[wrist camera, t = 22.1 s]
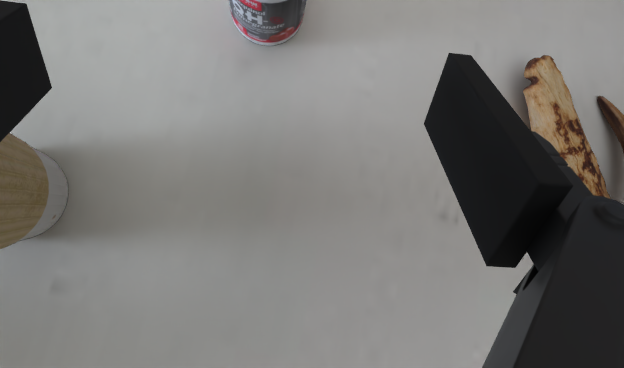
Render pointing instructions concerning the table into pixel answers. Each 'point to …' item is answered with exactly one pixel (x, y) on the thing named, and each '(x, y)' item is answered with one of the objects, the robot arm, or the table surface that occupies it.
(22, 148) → the coffee cup
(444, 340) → the table surface
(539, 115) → the overripe bananas
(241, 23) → the pill bottle
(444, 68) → the robot arm
